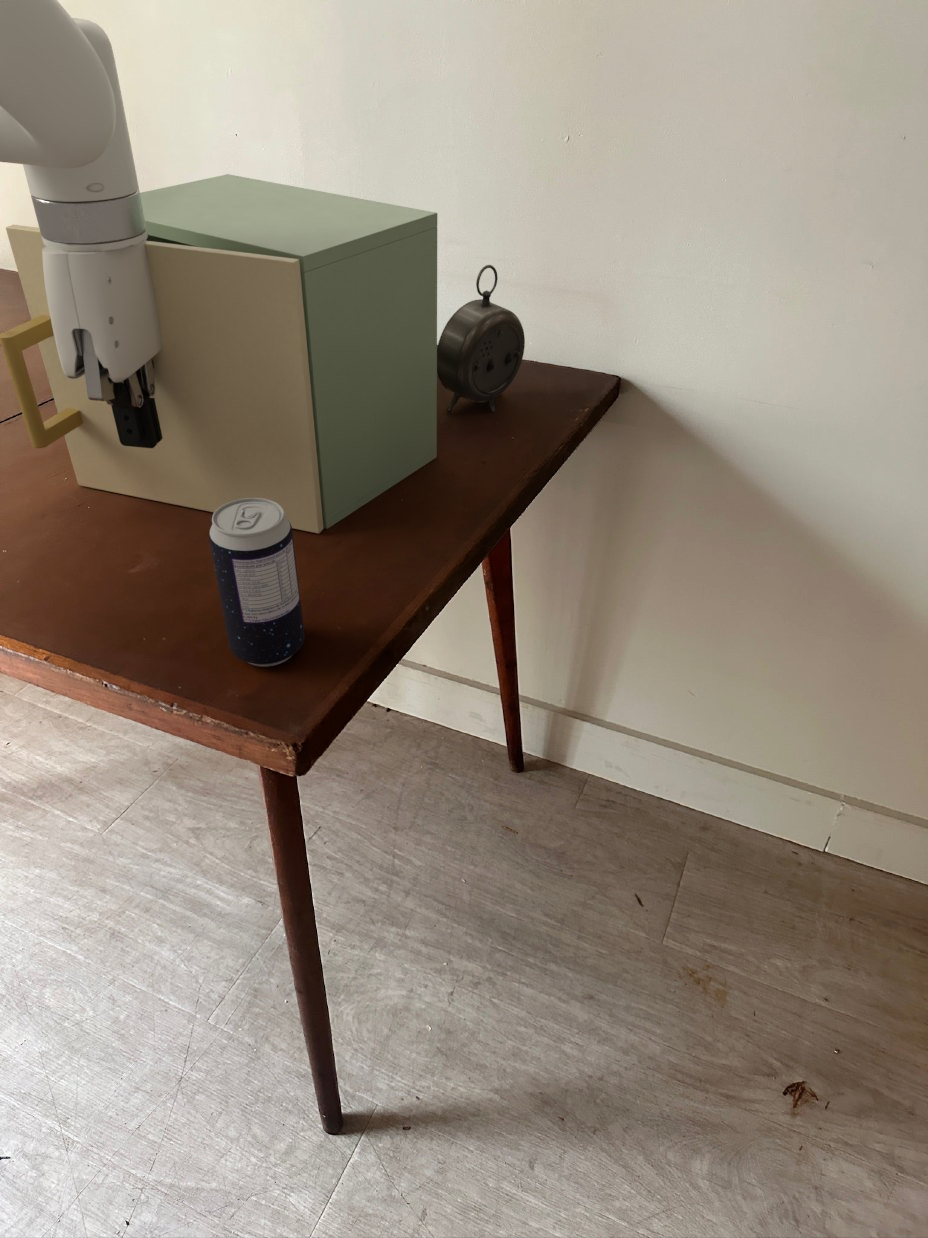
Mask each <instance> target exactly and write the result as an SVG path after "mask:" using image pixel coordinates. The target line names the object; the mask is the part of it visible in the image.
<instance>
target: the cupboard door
mask: <svg viewBox="0 0 928 1238" xmlns="http://www.w3.org/2000/svg"><path fill="white" fill-rule="evenodd" d="M5 231H6V234H7V237H8V241H9V244H10V248H11V252H12V255H13V259H14V263H15V266H16V270H17V274H18V277H19V280H20V284H21V287H22V290H23V295H24V298H25V302H26V305H27V309H28V312H29V315H30V320H27V321H26V322H23V323H21V324H19V325H16V326H14V327H12V328H11V329H8V330H6V331H4V332H2V333H0V347H1V349H2V353H3V356H4V359H5V363H6V365H7V369H8V372H9V375H10V378H11V381H12V385H13V388H14V392H15V395H16V398H17V401H18V404H19V408H20V411H21V414H22V417H23V421H24V423H25V427H26V430H27V433H28V436H29V440H30V444H31V446H32V448H34V449H44V448H47V447H48V446H50V445H51V444H53V443H54V442H56V441H58V440H59V439H61V438H63V437H64V440H65V443H66V446H67V450H68V454H69V457H70V461H71V465H72V468H73V471H74V475H75V479H76V483H77V485H78V486H79V487H80V486H81V487H85V488H90V489H94V490H95V489H96V490H100V491H105V492H111V493H116V494H121V495H125V496H131V497H135V498H139V499H145V500H150V501H156V502H160V503H166V504H169V505H175V506H179V507H185V508H190V509H195V510H200V511H205V512H208V513H209V512H210V513H214V512H215V511H216V510H217V509H218V508H219V507H221V506H222V505H224V504H226V503H228V502H231V501H234V500H238V499H243V498H263V499H268V500H271V501H274V502H276V503H278V504H279V505H280V506H281V507H282V508H283V510H284V515H285V517H286V518H287V519H288V520H289V522H290V524H291V526H292V530H293V529H294V530H299V531H304V532H309V533H314V534H317V535H319V534H321V532H322V531H323V530H324V528H323V518H322V507H321V495H320V484H319V473H318V462H317V451H316V440H315V429H314V418H313V407H312V396H311V384H310V373H309V362H308V351H307V340H306V329H305V318H304V307H303V296H302V285H301V273H300V262H299V259H293V258H285V257H277V256H268V255H260V254H252V253H244V252H235V251H227V250H219V249H211V248H202V247H194V246H186V245H178V244H169V243H161V242H153V241H146V243H145V248H146V253H147V257H148V262H149V267H150V272H151V276H152V282H153V287H154V292H155V298H156V303H157V309H158V316H159V322H160V330H161V340H162V349H161V350H160V351H159V352H158V353H157V354H156V355H155V356H153V357H152V360H153V362H154V369H153V372H154V380H155V389H156V390H155V395H154V396H150V398H154V399H155V404H156V408H157V413H158V418H159V423H160V428H161V432H162V440H161V441H160V442H159V443H157V445H156V446H155V447H154V448H142V447H131V446H124V445H122V444H121V443H120V440H119V436H118V432H117V428H116V423H115V419H114V415H113V411H112V407H111V405H108V404H107V402H106V401H95V400H90V399H89V398H88V395H87V386H86V378H85V374H84V375H82V376H81V377H79V378H76V379H70V378H68V377H67V376H66V375H65V374H64V372H63V369H62V366H61V362H60V359H59V355H58V350H57V346H56V342H55V337H54V333H53V328H52V323H51V318H50V312H49V307H48V302H47V296H46V289H45V282H44V272H43V256H42V249H43V248H45V247H46V246H45V245H44V243H43V240H42V236H41V232H40V229H39V227H36V226H28V225H20V224H11V225H8V226H6V227H5ZM36 344H37V345H38V349H39V350H40V354H41V358H42V361H43V364H44V368H45V372H46V376H47V379H48V383H49V387H50V390H51V395H52V396H53V397H52V398H53V401H54V404H55V408H56V411H57V413H56V414H54V415H53V416H51V417H49V418H47V419H46V420H45V421H43V419H42V418H43V417H42V414H41V410H40V408H39V404H38V400H37V397H36V394H35V391H34V387H33V384H32V380H31V378H30V374H29V370H28V368H27V363H26V360H25V357H24V354H23V351H24V350H27V349H28V348H30V347H32V346H35V345H36Z"/></svg>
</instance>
